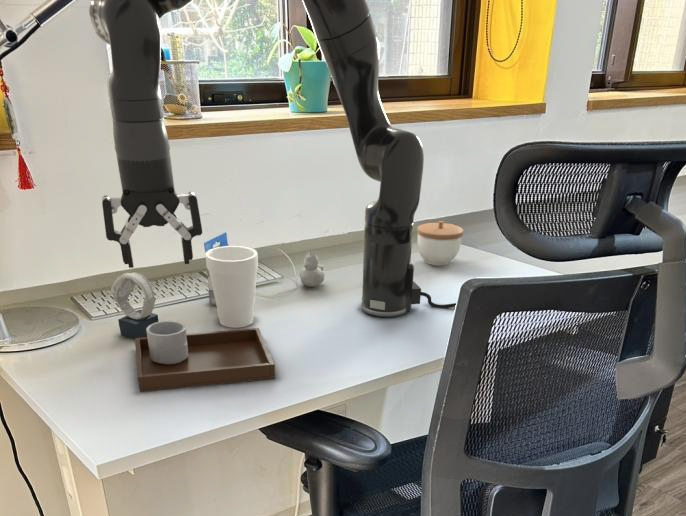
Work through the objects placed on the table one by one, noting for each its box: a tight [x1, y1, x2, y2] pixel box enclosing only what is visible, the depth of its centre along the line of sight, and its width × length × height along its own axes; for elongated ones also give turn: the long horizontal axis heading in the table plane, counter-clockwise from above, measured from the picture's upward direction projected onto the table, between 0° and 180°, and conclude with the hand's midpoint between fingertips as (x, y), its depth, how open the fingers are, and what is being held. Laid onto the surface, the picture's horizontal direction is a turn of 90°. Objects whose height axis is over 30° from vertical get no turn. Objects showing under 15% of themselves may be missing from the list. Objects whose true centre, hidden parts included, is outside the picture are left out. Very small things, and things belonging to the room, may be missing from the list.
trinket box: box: [416, 220, 464, 266], centre depth 167 cm, size 11×11×9 cm
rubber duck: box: [299, 249, 325, 288], centre depth 152 cm, size 5×7×8 cm
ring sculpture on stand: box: [110, 271, 160, 341], centre depth 127 cm, size 6×8×11 cm
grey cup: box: [146, 320, 189, 365], centre depth 119 cm, size 6×6×6 cm
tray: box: [134, 327, 276, 393], centre depth 119 cm, size 22×16×3 cm
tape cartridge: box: [203, 231, 231, 306], centre depth 142 cm, size 9×4×12 cm, turn 160°
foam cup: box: [204, 245, 259, 329], centre depth 132 cm, size 10×9×13 cm
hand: (159, 264), depth 112 cm, fingers open, 8 cm apart
